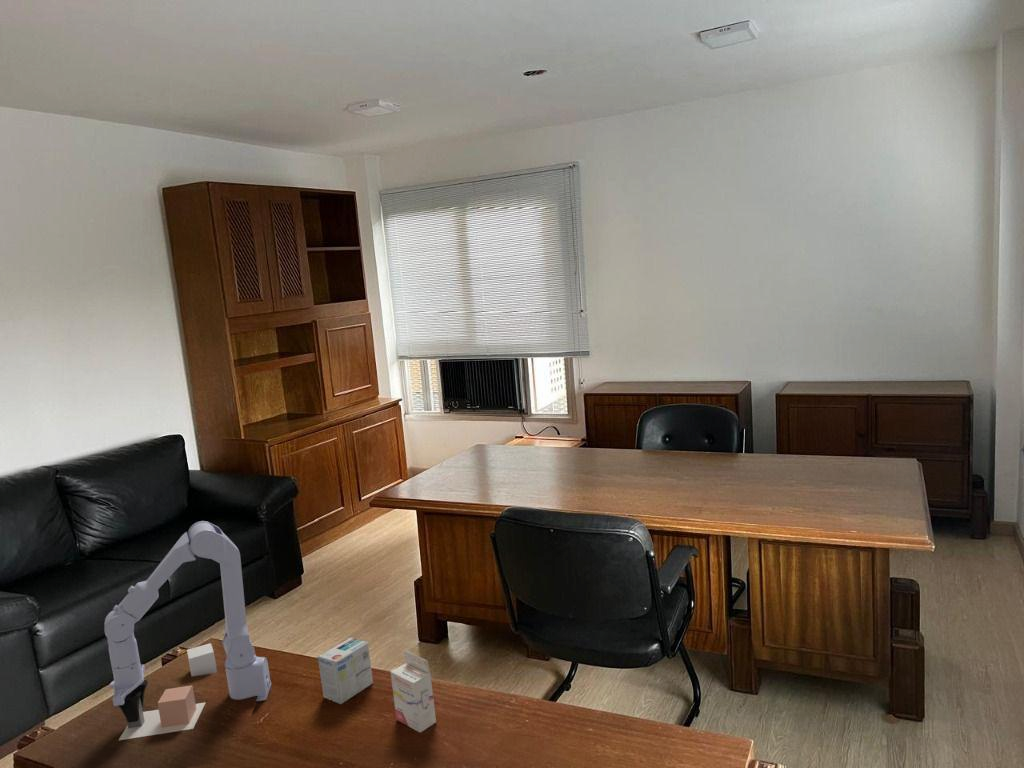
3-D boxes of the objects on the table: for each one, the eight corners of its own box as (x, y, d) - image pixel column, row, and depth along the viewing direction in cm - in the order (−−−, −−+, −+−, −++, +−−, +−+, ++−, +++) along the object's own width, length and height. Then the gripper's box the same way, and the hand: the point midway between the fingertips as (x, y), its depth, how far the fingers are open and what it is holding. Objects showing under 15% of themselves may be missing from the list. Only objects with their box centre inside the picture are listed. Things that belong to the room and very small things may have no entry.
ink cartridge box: (394, 720, 171) (387, 658, 169) (412, 710, 175) (404, 649, 173) (420, 733, 166) (412, 669, 163) (437, 722, 169) (430, 659, 167)
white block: (190, 671, 204) (186, 649, 203) (214, 664, 206) (210, 642, 205) (192, 680, 198) (188, 658, 197) (217, 673, 201) (213, 651, 200)
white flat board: (206, 706, 185) (201, 678, 184) (193, 732, 174) (188, 703, 173) (136, 716, 183) (131, 689, 182) (119, 744, 172) (113, 715, 171)
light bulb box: (355, 676, 192) (350, 636, 191) (374, 683, 188) (369, 641, 187) (322, 698, 184) (316, 655, 182) (341, 705, 180) (335, 661, 178)
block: (196, 709, 182) (192, 685, 181) (189, 723, 176) (185, 698, 175) (169, 713, 181) (165, 689, 180) (161, 727, 175) (157, 703, 174)
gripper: (118, 650, 182) (128, 703, 184) (94, 681, 168) (104, 739, 170) (150, 645, 183) (159, 698, 185) (128, 676, 169) (138, 733, 170)
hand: (135, 717), depth 177 cm, fingers closed on white flat board, 2 cm apart
